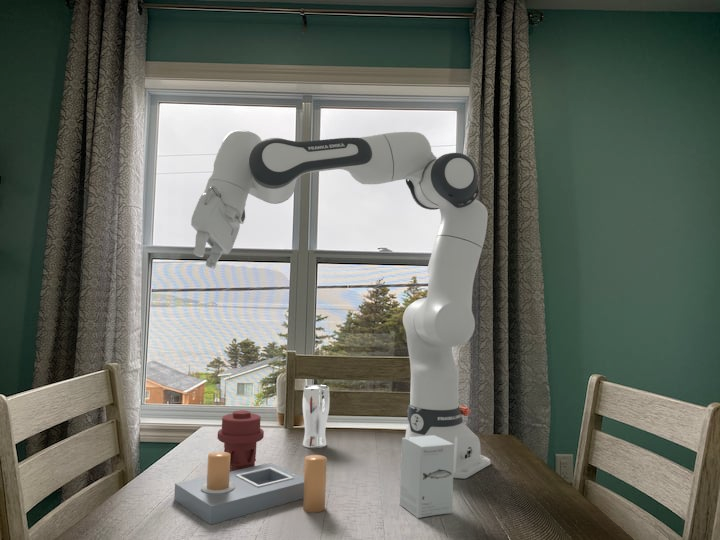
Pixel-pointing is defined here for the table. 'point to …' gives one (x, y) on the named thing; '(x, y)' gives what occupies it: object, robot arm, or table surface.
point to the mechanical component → (241, 438)
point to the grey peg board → (237, 489)
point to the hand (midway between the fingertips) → (204, 261)
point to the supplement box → (427, 475)
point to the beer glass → (315, 415)
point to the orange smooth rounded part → (314, 483)
